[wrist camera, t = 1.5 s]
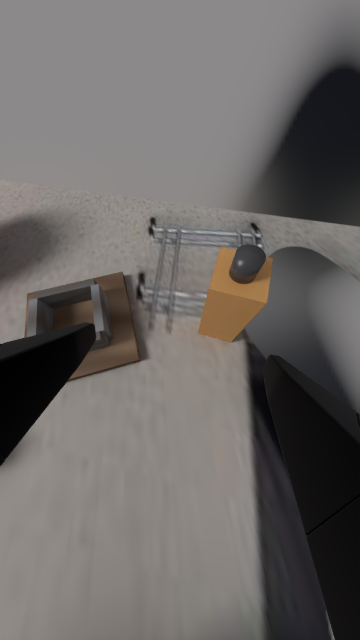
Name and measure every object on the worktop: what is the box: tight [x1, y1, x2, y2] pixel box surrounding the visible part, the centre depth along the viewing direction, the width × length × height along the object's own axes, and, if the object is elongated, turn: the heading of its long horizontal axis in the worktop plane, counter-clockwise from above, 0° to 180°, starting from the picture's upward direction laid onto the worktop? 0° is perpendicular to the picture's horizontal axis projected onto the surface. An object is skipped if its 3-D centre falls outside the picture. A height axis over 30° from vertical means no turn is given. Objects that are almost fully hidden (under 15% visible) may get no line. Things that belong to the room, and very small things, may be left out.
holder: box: [24, 272, 140, 382], centre depth 23 cm, size 14×14×4 cm
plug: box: [198, 244, 273, 342], centre depth 19 cm, size 5×5×13 cm
